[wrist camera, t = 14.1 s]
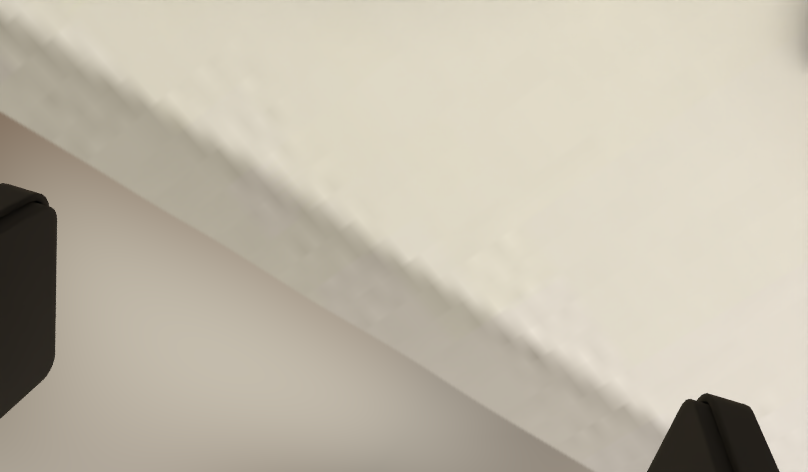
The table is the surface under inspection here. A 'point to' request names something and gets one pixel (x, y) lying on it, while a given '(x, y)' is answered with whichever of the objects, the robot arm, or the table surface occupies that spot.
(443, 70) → the table surface
